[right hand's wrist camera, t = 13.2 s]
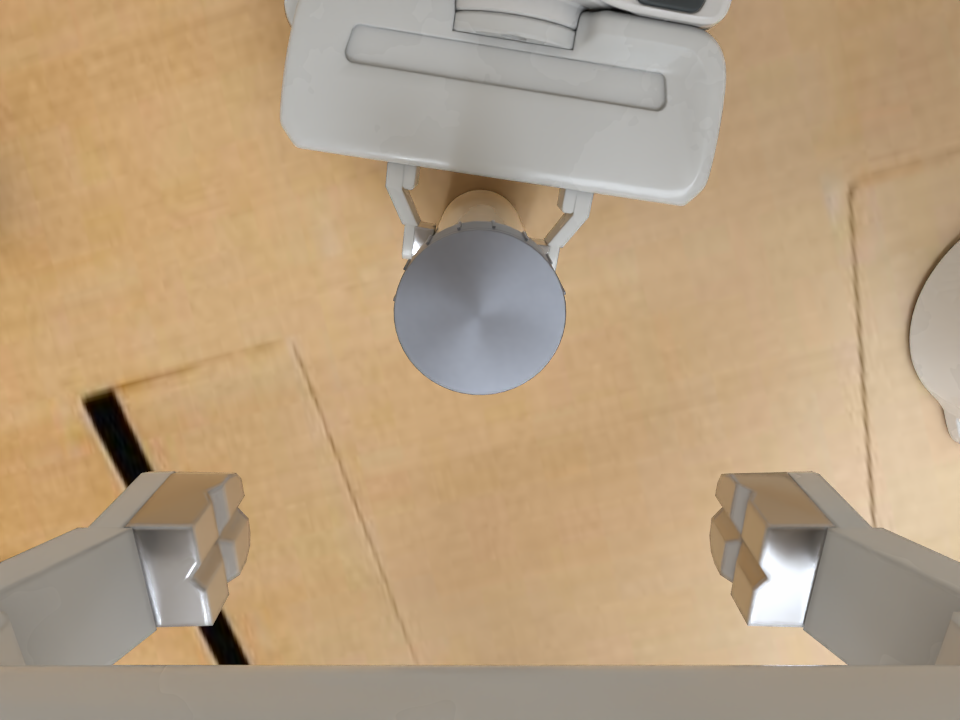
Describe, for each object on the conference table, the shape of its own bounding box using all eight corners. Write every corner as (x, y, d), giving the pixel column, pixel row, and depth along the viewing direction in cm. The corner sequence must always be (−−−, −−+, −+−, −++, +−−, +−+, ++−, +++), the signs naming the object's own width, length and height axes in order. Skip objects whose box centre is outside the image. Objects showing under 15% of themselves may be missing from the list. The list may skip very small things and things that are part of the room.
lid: (559, 372, 23) (566, 393, 22) (406, 377, 24) (400, 399, 22) (560, 216, 21) (568, 224, 20) (392, 223, 21) (384, 232, 20)
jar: (522, 271, 38) (551, 377, 22) (441, 274, 38) (413, 381, 22) (521, 188, 36) (552, 237, 20) (436, 191, 36) (401, 243, 20)
